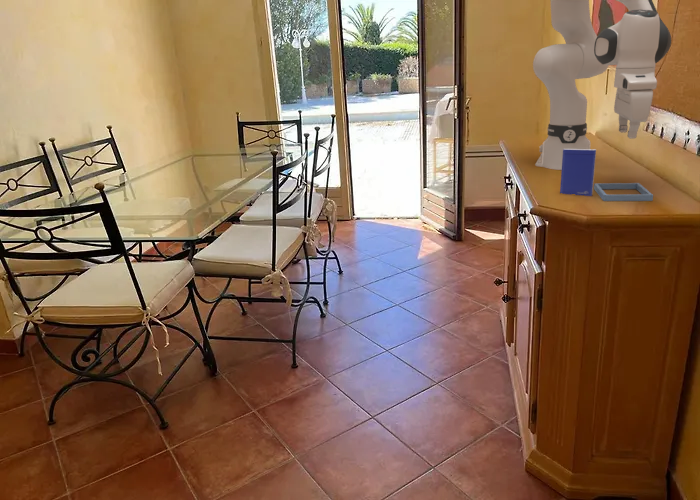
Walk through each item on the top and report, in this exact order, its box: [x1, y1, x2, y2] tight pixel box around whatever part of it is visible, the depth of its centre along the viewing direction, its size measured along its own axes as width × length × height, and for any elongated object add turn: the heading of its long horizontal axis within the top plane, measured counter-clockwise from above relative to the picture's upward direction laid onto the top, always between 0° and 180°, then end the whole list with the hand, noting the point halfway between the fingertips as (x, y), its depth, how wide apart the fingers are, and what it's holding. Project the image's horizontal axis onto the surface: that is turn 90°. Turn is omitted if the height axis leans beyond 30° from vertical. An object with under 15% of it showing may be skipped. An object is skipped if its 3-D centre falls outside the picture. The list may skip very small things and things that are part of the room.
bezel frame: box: [593, 182, 654, 202], centre depth 146 cm, size 14×12×2 cm
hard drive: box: [559, 148, 597, 197], centre depth 147 cm, size 2×8×12 cm, turn 61°
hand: (627, 135), depth 142 cm, fingers open, 8 cm apart
